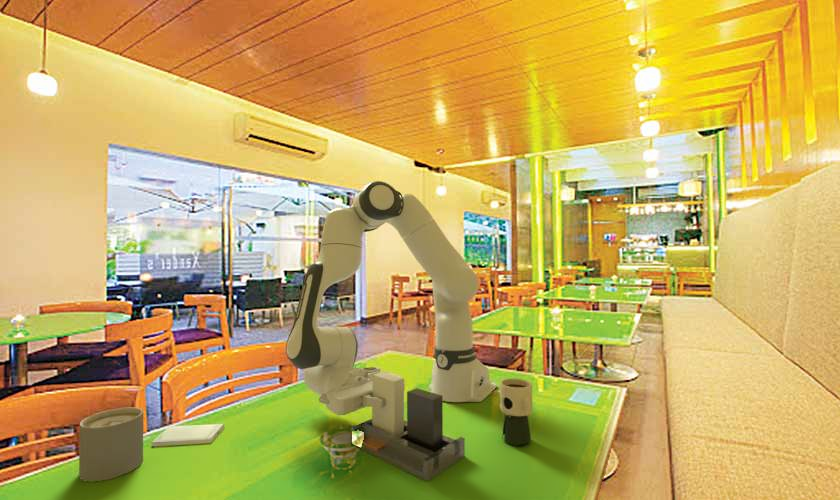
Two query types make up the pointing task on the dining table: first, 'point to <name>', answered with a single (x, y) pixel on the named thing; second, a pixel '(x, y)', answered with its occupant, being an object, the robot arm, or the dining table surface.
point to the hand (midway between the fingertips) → (390, 400)
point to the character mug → (516, 409)
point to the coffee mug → (110, 443)
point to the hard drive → (188, 435)
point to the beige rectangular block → (388, 403)
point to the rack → (416, 438)
